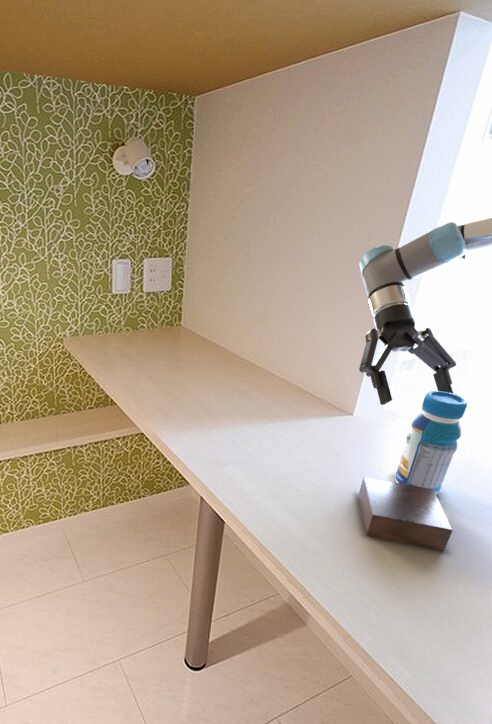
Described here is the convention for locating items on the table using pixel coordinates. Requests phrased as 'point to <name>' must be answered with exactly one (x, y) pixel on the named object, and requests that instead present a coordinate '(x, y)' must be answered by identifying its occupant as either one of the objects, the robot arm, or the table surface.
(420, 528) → the riser
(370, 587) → the table surface
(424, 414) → the beverage bottle
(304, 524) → the table surface
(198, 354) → the table surface
